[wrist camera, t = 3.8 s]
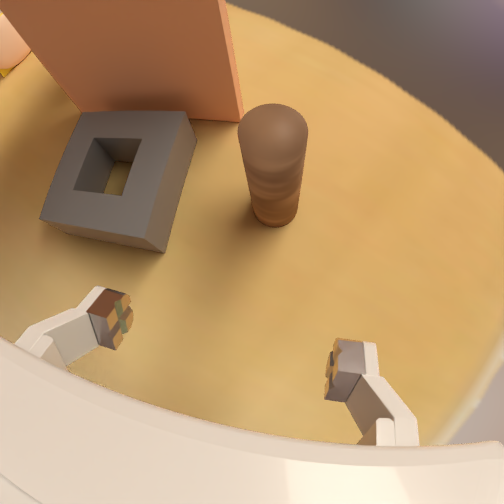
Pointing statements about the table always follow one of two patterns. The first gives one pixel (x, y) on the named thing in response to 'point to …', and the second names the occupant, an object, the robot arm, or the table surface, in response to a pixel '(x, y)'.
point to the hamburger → (10, 46)
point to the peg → (273, 160)
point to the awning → (135, 53)
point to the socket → (138, 182)
